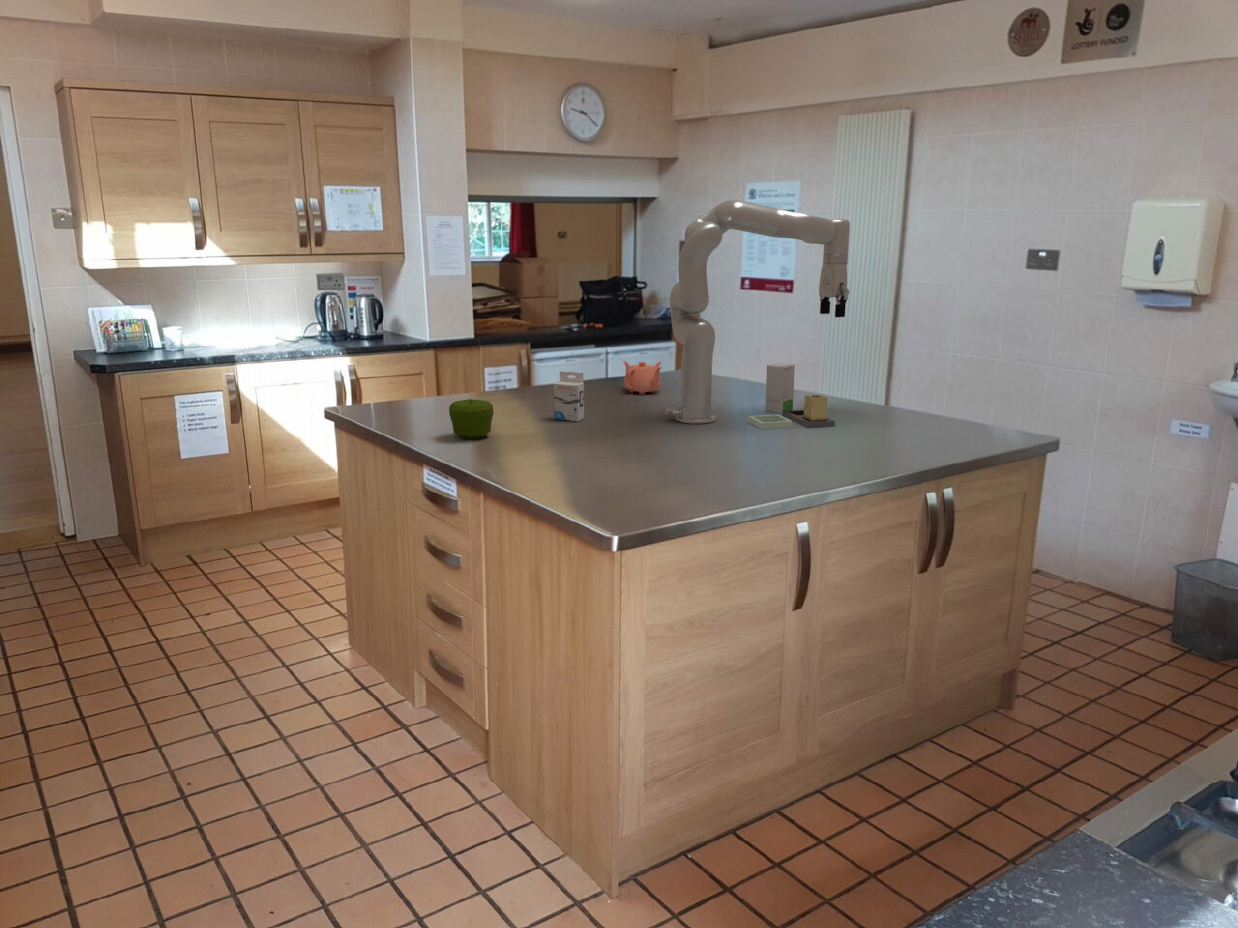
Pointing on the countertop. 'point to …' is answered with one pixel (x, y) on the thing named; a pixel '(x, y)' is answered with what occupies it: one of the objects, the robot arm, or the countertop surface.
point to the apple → (471, 418)
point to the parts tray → (770, 421)
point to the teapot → (642, 378)
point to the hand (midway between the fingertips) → (832, 315)
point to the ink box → (569, 397)
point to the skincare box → (779, 387)
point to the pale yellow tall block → (815, 408)
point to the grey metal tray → (799, 418)
